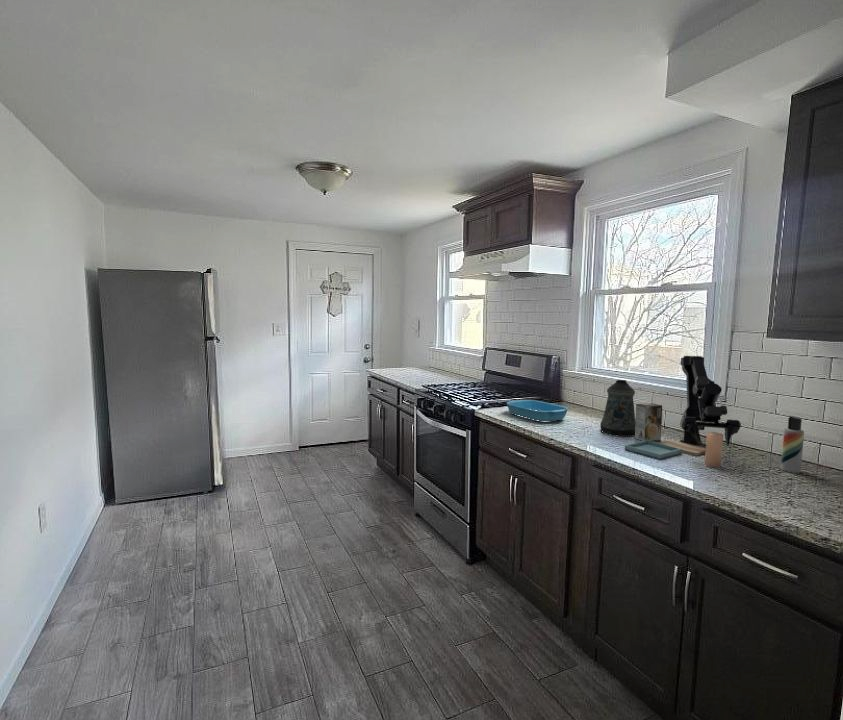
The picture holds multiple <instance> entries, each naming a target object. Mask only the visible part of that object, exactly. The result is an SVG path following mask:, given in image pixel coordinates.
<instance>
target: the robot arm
mask: <svg viewBox="0 0 843 720" xmlns="http://www.w3.org/2000/svg"><path fill="white" fill-rule="evenodd" d="M679 364H680V366H681V371H682V372H683V373H684V374H685V377H686V403H687V404H686V406H687V407H686V408H685V410H684V411H683V413H682V416H681V419H680V421H679V424H680V425H679V426H680V428H681V429H682V430H683V439H679V440H680V441H679V442H682V443H686V444H690V445H698V443H699V444H702V443H703V441H702V439H701V436H700V431H704V430H705V428H712V429H713V428H715V429H724V438H725V444H726V446H729V445H730V441H731V438H732V436H734V435H735V434H738V432H739V430H740V429H741V425H742V424H741V421H740V420H738V419H727V420H726V422H720V421H721V417H722V416H726V415H727V414H728V406H727V405H720V406H717V405H716V403H717V401H718V400H719V398H720V395H721V393H722V390H723V389H722V387H721V386H720V385H719V384H718V383H715V380H712V379H710V378H708V374H707V371H706V367H705V357H704V356H701V355H684V356H683V357H681V358H680V363H679Z"/></svg>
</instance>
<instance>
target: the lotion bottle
mask: <svg viewBox="0 0 843 720" xmlns="http://www.w3.org/2000/svg"><path fill="white" fill-rule="evenodd" d="M802 421H803V419H802V418H801V417H798V416H795V415H790V416H789V417H788V419H787V428H784V430H783V437H782V438H783V439H782V440H783V441H782V450H781V451H782V454H781V465H780V469H781V471H783V470H784V471H783V472H786V471H787V473H791V474H800V473H801V471H802V463H803V462H802V461H803V451H804V438H805V431H804V430H802Z"/></svg>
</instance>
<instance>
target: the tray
mask: <svg viewBox="0 0 843 720" xmlns="http://www.w3.org/2000/svg"><path fill="white" fill-rule="evenodd" d="M624 450H625V451H626V452H630V451H631V453H635V454H637V455H638V454H639V455H641V454H642V456H646V457H650V458H653V459H656V460H663V459H668V458H670V457H674V456H678V455H682V449H680V448H676V447H672V446H667V445H663V444H659V442H656V441H647V440H646V441H642V440H641V441H638V442H634V443H630V444H625V445H624Z"/></svg>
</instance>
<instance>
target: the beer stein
mask: <svg viewBox="0 0 843 720" xmlns="http://www.w3.org/2000/svg"><path fill="white" fill-rule="evenodd" d="M606 392H607V400H606V403H605V408H604V412H603V417H602V419H601V421H600V424H599V425H600V431H601V432H602V431H603V432H605V433H608V434H607V435H609V434H611V435H610V436H614V435H618V436H617V437H632V435H634V436H635V423H636V411H635V404H634V396H635V393H636V390H635V389H634V388H633V387H632V386H630V384H629V383H628V382H627V380H626V379H617V380H616V381H615V382H614V383H613V384H611V385H610V386H609V387H608V388H607V389H606ZM603 432H602V433H603ZM605 433H604V434H605Z"/></svg>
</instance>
